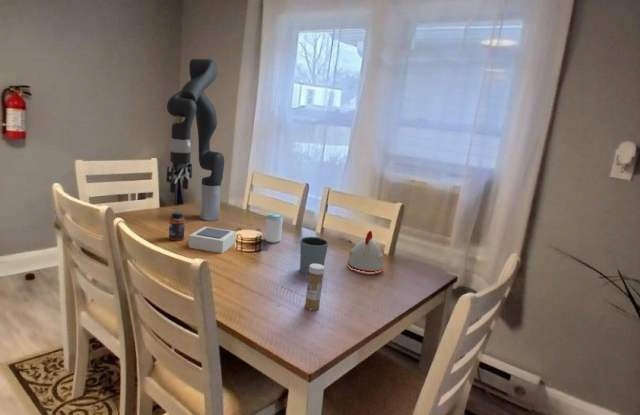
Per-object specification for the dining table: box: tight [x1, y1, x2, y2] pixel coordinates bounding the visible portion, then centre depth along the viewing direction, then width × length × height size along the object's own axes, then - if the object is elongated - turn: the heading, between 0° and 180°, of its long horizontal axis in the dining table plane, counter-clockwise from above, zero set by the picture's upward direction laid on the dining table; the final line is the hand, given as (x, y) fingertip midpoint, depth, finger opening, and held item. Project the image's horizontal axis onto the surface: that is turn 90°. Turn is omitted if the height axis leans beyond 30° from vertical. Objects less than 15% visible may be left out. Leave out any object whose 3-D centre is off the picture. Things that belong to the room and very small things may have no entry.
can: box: [264, 212, 284, 244], centre depth 183 cm, size 7×7×12 cm
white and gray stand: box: [188, 226, 237, 254], centre depth 170 cm, size 14×14×5 cm
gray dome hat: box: [347, 230, 384, 272], centre depth 163 cm, size 14×14×15 cm
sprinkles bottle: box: [304, 264, 326, 311], centre depth 125 cm, size 5×5×13 cm
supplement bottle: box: [168, 210, 186, 242], centre depth 171 cm, size 6×6×11 cm
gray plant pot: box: [299, 236, 329, 276], centre depth 153 cm, size 10×10×12 cm
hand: (179, 190), depth 167 cm, fingers open, 8 cm apart
